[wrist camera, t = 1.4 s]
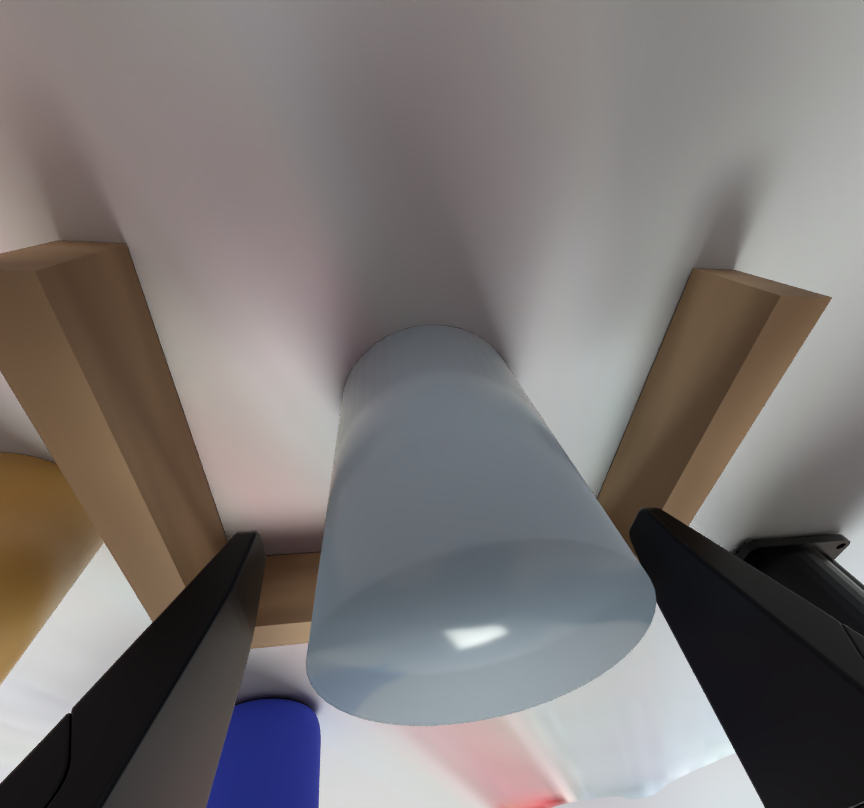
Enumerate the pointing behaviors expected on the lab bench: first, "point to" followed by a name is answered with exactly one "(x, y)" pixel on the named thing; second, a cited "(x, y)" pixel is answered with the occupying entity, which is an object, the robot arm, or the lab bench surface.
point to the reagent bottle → (37, 549)
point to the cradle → (297, 573)
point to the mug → (269, 757)
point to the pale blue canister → (461, 546)
